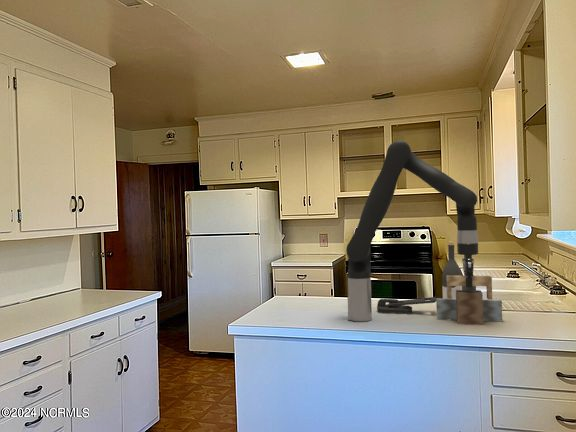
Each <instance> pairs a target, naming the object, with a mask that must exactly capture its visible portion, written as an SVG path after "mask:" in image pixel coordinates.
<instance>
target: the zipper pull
mask: <svg viewBox="0 0 576 432" xmlns="http://www.w3.org/2000/svg"><path fill="white" fill-rule="evenodd" d="M436 298H437V297H435V296H430V297H422V298H412V299H403V300H399V299H396V298H395V299H394V298H380V299H378V301H377V305H376V312H377V313H378V314H385V315H386V314H390V315H391V314H392V315H393V314H394V315H410V314H413V307H412V306H411V305H424V304H434V303H436ZM409 313H410V314H409Z"/></svg>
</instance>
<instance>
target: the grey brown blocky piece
mask: <svg viewBox="0 0 576 432" xmlns="http://www.w3.org/2000/svg"><path fill="white" fill-rule="evenodd" d="M481 290H482V289H481ZM481 290H479V289H476V292H462V290H456V299H443V298H441V297H439V298H438V297H436V302H435V303H436V320H445V319H454V320H453V321H457V325H475V324H480V325H479V326H483V325H484V322H496V321H502V322H503V300H501V299H492V300H490V299H484V297H483V291H481Z"/></svg>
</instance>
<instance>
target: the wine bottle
mask: <svg viewBox="0 0 576 432" xmlns="http://www.w3.org/2000/svg"><path fill="white" fill-rule="evenodd" d="M447 248H448V249H447V250H448V251H447V252H448V259H447V261H446V263H445V265H444V267H443V270H442V275H441V282H442V299H449V298H447V275H461V276H463V275H462V271H461V269H460V265H458V263H457V261H456V259H455V243H454V241H450V240H449V241H448V244H447ZM456 290H462V286H451V292H452V299H456Z"/></svg>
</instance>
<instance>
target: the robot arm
mask: <svg viewBox="0 0 576 432" xmlns="http://www.w3.org/2000/svg"><path fill="white" fill-rule="evenodd" d="M403 169H404V170H406V171H409V172H410V173H412V174H413V175H415V176H417V177H418V178H419V179H421V180H422V181H423V182H424V183H426V184H427V185H428V186H429V187H431V188H433V190H435V191H437V192H439V193H440V194H441V195H443V196H445V197H448V198H449V199H451V200H452V201H453V202H455V206H456V207H455V208H456V210H455V211H456V216H457V217H456V218H457V221H456V223H457V231H456V232H457V233H456V247H457V248H456V249H457V250H456V251H457V254H458V255H462V256H463V258H462V259H461V260H462V261H461V262H462V269H463V276H465V277H466V287H472V278H473V276H474V271H475V269H474V267H475V266H474V264H475V260H474V258H473V257H472V256H475V255H478V254H479V234H478V222H477V217H476V215H475V213H476V212H475V210H476V209H475V206H476V205H477V204H478V196H477V194H476V193H475V192H474V191H473V190H472V189H470V188H468V187H466V186H464V185H463V184H461V183H458V181H456V180H455V179H453V178H452V177H451V176H449V175H448V174H446V173H445V172H443V171H442V170H440V169H438V168H436V167H434V166H432V165H430V164H429V163H427V162H425V161H424V160H423V159H421V158H419V156H418V155H416V154H415V153H414V152H413V151H412V149H411V146H410V145H409V143H408V142H406V141H404V140H400V139H399V140H396V141H393V142H392V143H390V144H389V146H388V148H387V150H386V154H385V157H384V160H383V165H382V167H381V169H380V172H379V174H378V175H377V178H376V179H375V181H374V182H373V183H374V184H373V186H371V190H369V193H368V196H367V199H366V200H365V204H364V206H363V208H362V212H361V215H360V218H359V222H358V225H357V227H356V229H355V231H354V233H353V235H352V237H351V239H350V240H349V242H348V243H347V245H346V249H345V251H346V255H347V257H348V261H347V262H348V266H347V267H348V268H347V285H348V287H347V288H348V293H347V294H348V296H347V319H348V321H353V322H361V323H362V322H369V321H371V320H373V318H372V317H373V313H372V311H373V310H372V309H373V308H372V279H371V274H372V273H371V272H372V270H371V269H372V263H371V262H372V260H371V259H372V257H371V253H372V252H371V245H372V242H373V239H374V236H375V235H376V234H375V233H376V231H377V230H378V228H379V226H380V224H381V223H382V222H383V220H384V218H385V216H386V214H387V213H388V210H389V209H390V205H391V203H392V200H393V197H394V196H395V195H394V194H395V191H396V188H397V187H396V186H397V184H398V183H397V182H398V179H399V178H400V176H401V173H402V171H403Z"/></svg>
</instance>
